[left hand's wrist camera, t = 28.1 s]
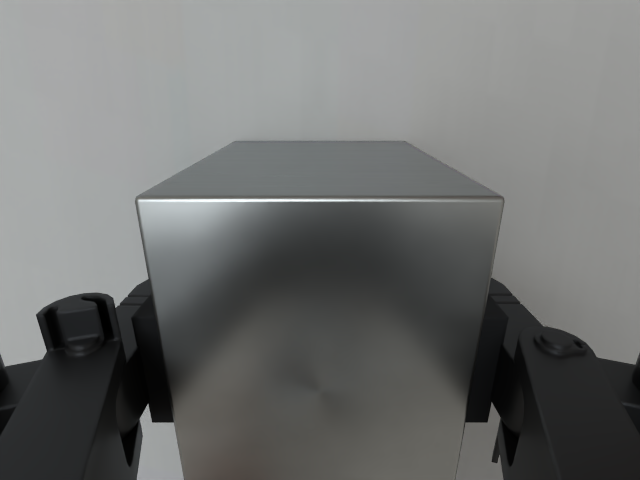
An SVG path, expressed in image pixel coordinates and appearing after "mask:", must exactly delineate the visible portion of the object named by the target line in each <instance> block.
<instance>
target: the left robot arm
mask: <svg viewBox="0 0 640 480" xmlns="http://www.w3.org/2000/svg"><path fill="white" fill-rule="evenodd" d="M36 316H37V320H38V323H39V326H40V330H41V333H42V336H43V339H44V343H45V346H46V349H47V352H46V354H45V356H44V358H43V359H42V360H38V361H32V362H27V363H22V364H17V365H11V366H6V367H5V366H4V363H3V360H2V357H1V355H0V480H137V473H138V466H139V458H140V451H141V444H142V437H143V435H142V428H141V423H140V417H141V415H142V413H143V411H144V410H145V408H146V406H147V404H149V409H150V413H151V418H152V422H174V419H173V414H172V408H171V402H170V397H169V391H168V385H167V380H166V374H165V368H164V363H163V357H162V351H161V346H160V340H159V334H158V329H157V323H156V317H155V312H154V306H153V300H152V295H151V289H150V283H149V279H148V280H146V281H144V282H143V283H141V284H139V285H137V286H136V287H135V288H134V289H133V290H132V291H131V293H130V294H129V295H128V297H126V298H125V299H124V300H123V301H122V302H121V303H120V306H117V307H116V308H115V304H114V300H113V298H112V297H111V296H109V295H108V294H102V293H83V294H79V295H74V296H69V297H66V298H63V299H61V300H58V301H55V302H53V303H51V304H50V305H48V306H46V307H44V308H43V309H42V310H41V311H40V312H38V313H37V314H36ZM491 402H492V403H493V404H494V406H495V408H496V410H497V412H498V413H499V415H500V417H501V419H500V423H499V428H498V433H497V437H496V442H495V446H494V451H493V456H492V462H494V463H497V462H498V458H499V455H500V457H501V465H502V472H503V479H504V480H640V354H639V356H638V359H637V362H636V365H633V364H628V363H623V362H617V361H612V360H607V359H601V358H597V357H596V355H595V354H594V352H593V350H592V349H591V348H590V347H589V346H588V345H587V344H586V343H585V342H584V341H582V340H581V339H579V338H578V337H576V336H574V335H572V334H570V333H567V332H565V331H562V330H559V329H555V328H550V327H543V326H542V325H541V324H540V323H539V321H538V320H537V319H536V318H535V317H534V316H533V315H532V314H531V313H530V312H529V311H528V310H527V309H526V308H525V307H524V306H523V305H522V304H520V302H519V301H518V299H517V298H516V297H515V296H512V293H511V292H510V291H509V290H508V289H507V288H506V287H505V286H504V285H503V284H502V283H500V282H498V281H496V280H494V279H493V278H491V280H490V286H489V291H488V297H487V303H486V308H485V314H484V319H483V325H482V331H481V336H480V342H479V348H478V353H477V359H476V365H475V370H474V376H473V382H472V387H471V393H470V399H469V404H468V410H467V416H466V421H465V422H488V417H489V412H490V407H491Z"/></svg>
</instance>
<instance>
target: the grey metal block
mask: <svg viewBox="0 0 640 480" xmlns="http://www.w3.org/2000/svg"><path fill="white" fill-rule="evenodd" d="M135 204H136V210H137V215H138V221H139V227H140V232H141V238H142V244H143V249H144V255H145V261H146V266H147V272H148V278H149V283H150V289H151V295H152V300H153V306H154V312H155V317H156V323H157V329H158V334H159V340H160V346H161V351H162V357H163V363H164V368H165V374H166V380H167V385H168V391H169V397H170V402H171V408H172V414H173V419H174V425H175V431H176V436H177V442H178V448H179V453H180V459H181V465H182V470H183V476H184V480H455V478H456V472H457V467H458V461H459V455H460V450H461V444H462V438H463V433H464V427H465V421H466V416H467V410H468V404H469V399H470V393H471V387H472V382H473V376H474V370H475V365H476V359H477V353H478V348H479V342H480V336H481V331H482V325H483V319H484V314H485V308H486V303H487V297H488V291H489V286H490V280H491V274H492V269H493V263H494V257H495V252H496V246H497V240H498V235H499V229H500V223H501V218H502V212H503V206H504V198H503V196H501V195H499V194H497V193H496V192H494V191H492V190H490V189H489V188H487V187H485V186H483V185H482V184H480V183H478V182H476V181H474V180H473V179H471V178H469V177H467V176H466V175H464V174H462V173H460V172H459V171H457V170H455V169H453V168H451V167H450V166H448V165H446V164H444V163H443V162H441V161H439V160H437V159H436V158H434V157H432V156H430V155H429V154H427V153H425V152H423V151H421V150H420V149H418V148H416V147H414V146H413V145H411V144H409V143H407V142H405V141H235V142H232V143H231V144H229V145H227V146H225V147H224V148H222V149H220V150H218V151H216V152H215V153H213V154H211V155H209V156H208V157H206V158H204V159H202V160H200V161H199V162H197V163H195V164H193V165H192V166H190V167H188V168H186V169H184V170H183V171H181V172H179V173H177V174H175V175H174V176H172V177H170V178H168V179H167V180H165V181H163V182H161V183H159V184H158V185H156V186H154V187H152V188H151V189H149V190H147V191H145V192H143V193H142V194H140V195H138V196H136V199H135Z"/></svg>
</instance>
